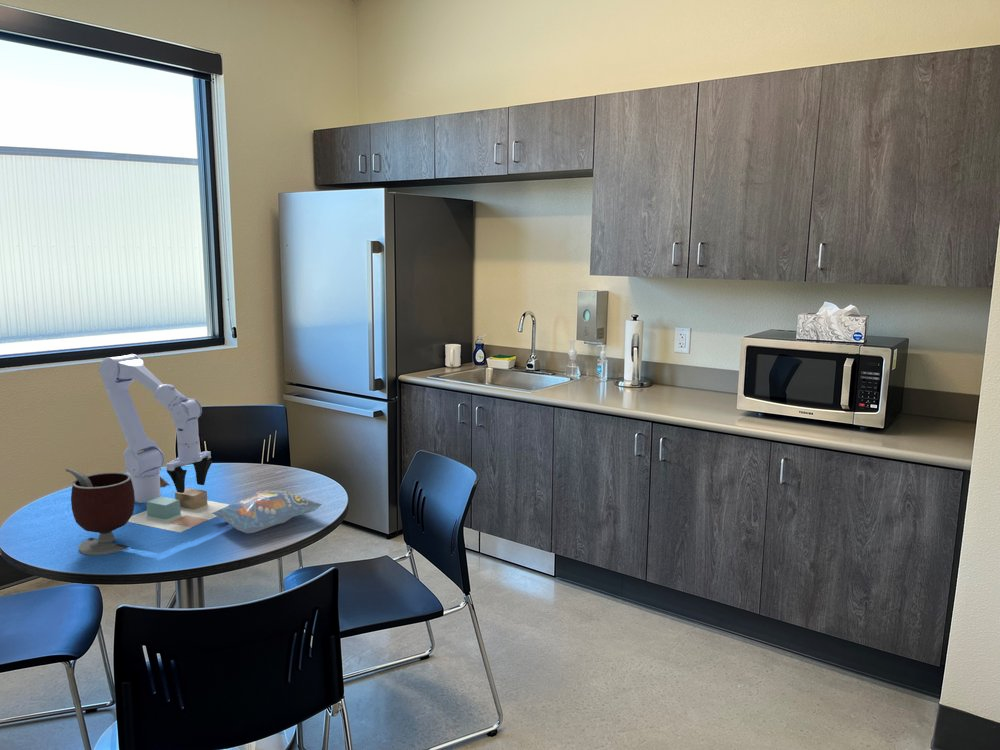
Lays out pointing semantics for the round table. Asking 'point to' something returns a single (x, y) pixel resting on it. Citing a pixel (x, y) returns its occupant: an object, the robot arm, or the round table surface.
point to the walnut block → (192, 498)
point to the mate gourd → (102, 508)
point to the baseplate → (180, 517)
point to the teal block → (163, 507)
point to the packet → (265, 510)
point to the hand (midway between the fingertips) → (190, 488)
